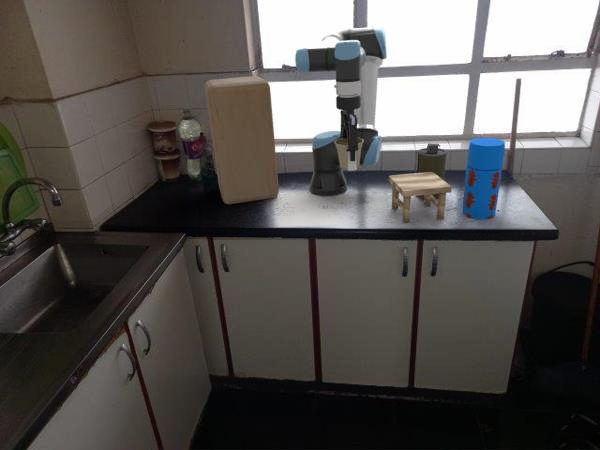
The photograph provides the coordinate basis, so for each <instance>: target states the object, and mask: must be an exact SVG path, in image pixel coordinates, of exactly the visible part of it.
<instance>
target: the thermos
mask: <svg viewBox="0 0 600 450" xmlns="http://www.w3.org/2000/svg"><path fill="white" fill-rule="evenodd" d="M467 150H468V151H467V160H466V170H465V179H464V187H463V188H464V189H463V198H462V199H463V200H462V212H461V213H462V215H463V216H465V217H467V218H470V219H472V220H483V221H484V220H490V219H493V218H494V217H495V215H496V211H497V207H498V206H497V205H498V199H499V194H500V193H499V192H500V185H501V180H502V179H501V178H502V170H503V164H504V159H505V158H504V157H505V152H506V151H505V150H506V142H505V141H504V139H503V140H502V139H499V138H493V137H479V138H478V137H476V138H473V139H471V140H470V141H469V145H468V149H467Z"/></svg>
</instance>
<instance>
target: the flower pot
mask: <svg viewBox="0 0 600 450" xmlns="http://www.w3.org/2000/svg"><path fill="white" fill-rule="evenodd" d="M363 142H364V140H363V139H360V138H358V150H357V169H358V168H359V167H360V166H359V162H360V154H361V147H362V144H363ZM334 143H335V144H336V148H337V151H338V157H339V163H340V167H341V168H342V170H348V152H346V150H347V149H348V140H347V138H346V139H343V138H341V139H337V140H336V141H334ZM353 147H354V146H353Z"/></svg>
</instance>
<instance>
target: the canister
mask: <svg viewBox="0 0 600 450" xmlns="http://www.w3.org/2000/svg"><path fill="white" fill-rule="evenodd" d="M440 147H441V145H440V144H439V143H431V142H430V143H427V146H426V147H425V148H424V147H423V148H420V149H418V150H416V151H415V162H414V163H415V165H414V173H424V172H434V173H435V174H436V175H437V176H439V177H440V178H441V179H442V180H444V181H445V174H446V172H445V171H446V165H447V164H446V163H447V154H448V151H447V150H445V149H443V148H440ZM431 195H432V196H434V197H435V198H436V199H437V200H438V194H431ZM415 197H416V198H417V199H419V200H421V201H424V195H418V196H415Z"/></svg>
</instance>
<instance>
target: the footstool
mask: <svg viewBox="0 0 600 450" xmlns="http://www.w3.org/2000/svg"><path fill="white" fill-rule="evenodd" d="M388 182H389V183H390V184H391V188H392V190H391V210H394V211H397V210H399V209H400V210H401V211H402V220H401V222H402V224H409V223H410V222H411V221H410V220H411V219H410V217H411V203H412V202H411V200H412V199H411V198H412V197H416V196H418V195H424V200H423V206H424V207H431V205H434V206H435V208H436V220H438V221H443V220H445V212H446V211H445V210H446V200H447V199H446V198H447V194H448V193H451V192H452V185H450V184H449V183H447V182H446V181H445V179H444V180H442V179H441V178H440V177H439V176H437V175H436V174H435V173H434V172H424V173H417V172H416V173H415V172H414V173H403V174H391V175H388ZM431 194H438V200H437V199H436V198H435V197H434V196H432V195H431ZM400 195H401V196H402V197H403V199H400Z"/></svg>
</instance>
